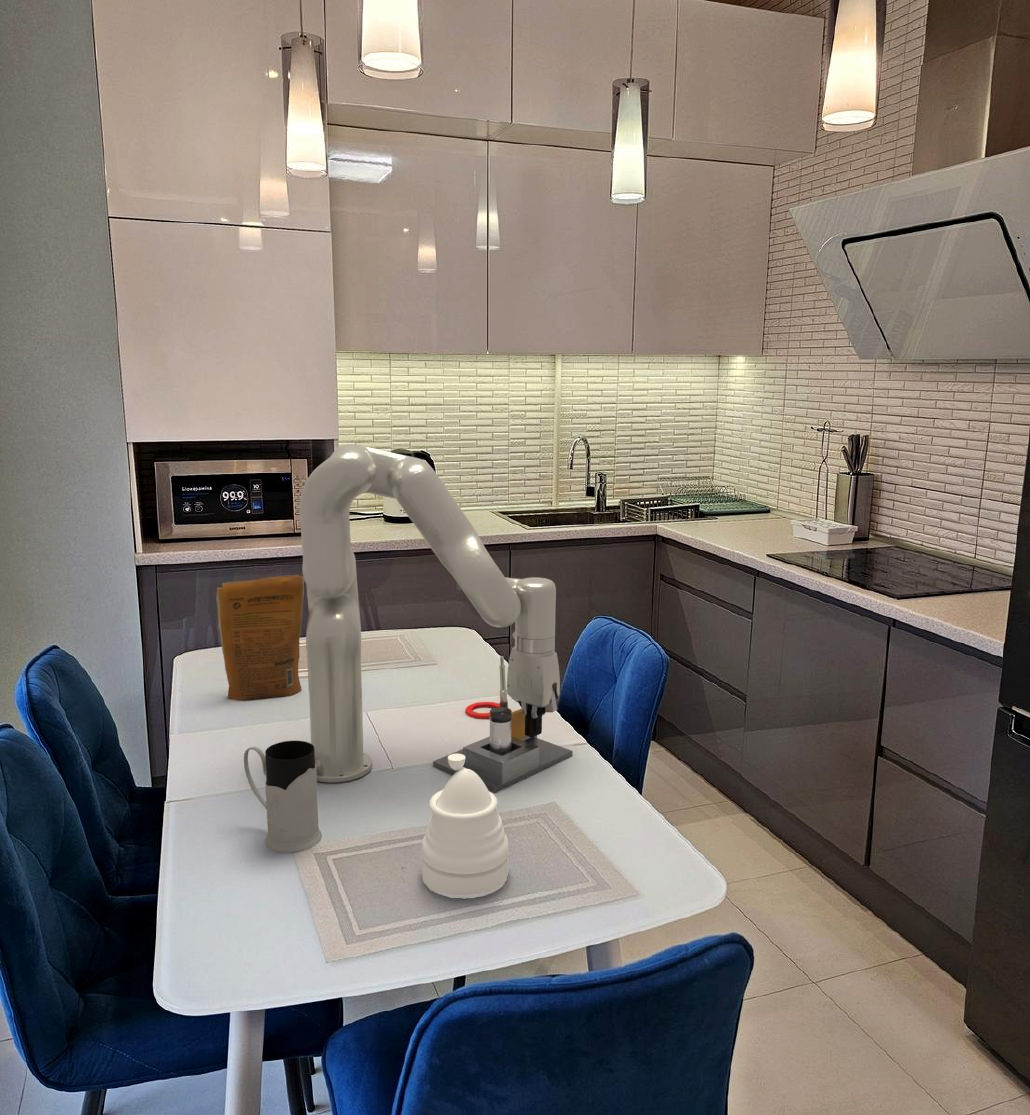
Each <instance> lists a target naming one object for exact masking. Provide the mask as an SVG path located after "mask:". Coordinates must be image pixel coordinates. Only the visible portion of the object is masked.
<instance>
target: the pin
mask: <svg viewBox="0 0 1030 1115" xmlns="http://www.w3.org/2000/svg"><path fill="white" fill-rule="evenodd" d="M489 712H490V718H489V736H490V751H491V752H493V753H496V754H498V755H501V756H503V755H505V754H507V753H510V752H511V726H512V712H513V711H512V709H510V708H509V707H508V708H505V707H497V708H491V709H490V710H489Z"/></svg>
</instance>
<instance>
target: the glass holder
mask: <svg viewBox="0 0 1030 1115" xmlns="http://www.w3.org/2000/svg"><path fill="white" fill-rule="evenodd" d="M250 750H253V751H255V752H256V753H257V754H258V755H259V757H260V759H261V766H262V772H263V775H264V776H265V777H266V781H265V799H266V800H265V799H264V797H263V796H262V794H261V793H260V791H259V790H258V788H257V787H256V785H255V783H254V782H255V781H254V780H253V777H252V775H251V771H250V768H249V752H250ZM264 752H265V753H264ZM264 752H263V751H262V750H261V748H259V747H258V746H250V747H248V748H246V750H245V751H244V753H243V766H244V767H243V768H244V773H245V776H246V779H247V782H248V784H249V787H250V788H251V791H252V792H253V794H254V796H256V798H257V799H258V801H259V802H260V804H262V806H263V807H264V808H265V810H266V819H267V820H266V822H267V823H266V824H267V835H266V837H265V841H264V843H265V845H266V847H267V848H268V849H270V850H272V851H274V852H279V853H284V854H285V853H298V852H303V851H305V850H308V849H311V848H312V847H314V846H316V845H317V844H319V842H320V841H321V839H322V836H323V835H322V832H321V830H320V827H319V806H318V781H317V772H316V768H315V748H314V746H313V745H312V744H311V742H308V741H304V740H285V741H280V742H276V743H273V744H272V745H270V746H268V747H267V748H266V749H265V751H264Z"/></svg>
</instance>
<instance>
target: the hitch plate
mask: <svg viewBox="0 0 1030 1115" xmlns="http://www.w3.org/2000/svg"><path fill="white" fill-rule="evenodd" d="M451 754H462V755H464V756H465V763H464V765H463V767H464V768H466V769H470V770H472V771H474V772H475V773H476V774H477V775H478V776H479V777H480V778H481V780H482V781H483V782H484V784H485V786H486V787H487V789H488V791H489V792H491V793H492V794H496V793H498V792H500V791H501V790H504V789H506V788H508V787H511V786H512V785H514V784H517V783H519V782H521V781H523V780H525V779H526V778H529V777H531V776H533V775H536V774H537V773H540V772H541V771H544V770H546V769H548V768H550V767H551V766H553V765H557V764H558V763H560V762H562V761H564V760H567V759H568V758H570V757H572V756H573V750H571V749H568V748H566V747H563V746H560V745H558V744H554V743H552V742H549V741H546V740H543V739H541V738H538V735H537V736H534V737H532V738H530V739H527V740H525V741H523V740H520V739H517V738H515V737H512V736H511V752H510V753H507V754H505V755H503V756H501V755H498V754H496V753H493V752H491V751H490V735H489V736H487V737H485V738H482V739H480V740H477V741H474V742H472V743H470V744H467V745H466V746H463V747H462V749H459V750H457V751H455V752H452V753H450V754H448V755H444V756H442V757H440V758H438V759H436V760H433V761H432V767H434V768H436V769H438V770H441V771H442V772H445V773H447V774H449V775H452V776H453V775H454V774H455V773H456V772H457V771H459V770H454V769H452V768H451V767H450V765H449V763H448V756H449V755H451Z"/></svg>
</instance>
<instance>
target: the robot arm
mask: <svg viewBox="0 0 1030 1115" xmlns="http://www.w3.org/2000/svg"><path fill="white" fill-rule="evenodd" d="M364 493H366V494H371V495H374V496H379V497H385V498H390V499H395V500H396V501H397V502H398V504H399V505H400V507H401V508H402V509H403V511H404V513H406V515H407V517H408V518H409V519H410V521H411V522H412V523H413V524H414V526H415V528H416V529H417V530H418V531H419V534H421V535H422V537H423V539H424V541H425V542H426V543H427V544H428V546H429V548H430V549H431V550H432V552H433V553H434V554H435V556H436V558H437V559H438V560H439V561H440V563H441V564H442V565H443V566H444V568H446V570H447V571H448V573H449V574H451V576H452V577H453V578H454V580H455V581H456V583H457V585H458V586H459V587H460V589H461V590H462V591H463V593H464V595H465V596H466V597H467V598H468V600H469V601H470V603H471V604H472V605H473V607H474V609H475V610H476V612H477V613H478V614H479V616H480V617H481V618H482V620H484V622H485V623H486V624H488V625H489V626H491V627H494V628H497V629H498V628H499V629H503V628H507V627H510V626H511V625H513V624H514V623H515V625H514V627H515V628H514V629H515V630H514V632H513V633H512V639H514V646H513V647H511V651H510V655H509V660H508V665H507V674H506V675H507V676H506V690H507V696H508V697H510V698H511V699H512V700H513V701H515V702H516V703H518V704H519V706H520V709H522V713H523V715H525V735H526V736H529V737H531V738H532V737H534V736H537V737H538V736H539V735H541V734H542V733H543V732H542V731H543V716H544V715H546V713H554V712H556V711H558V706H557V702H559V699H560V692H561V688H560V687H561V684H560V683H561V681H560V680H561V679H560V667H559V659H558V654H557V652H556V651H555V650H556V646H555V645H556V643H555V642H556V641H555V640H556V607H557V606H556V603H557V602H556V601H557V587H556V584H555V582H554V581H553V580H552V579H549V578H545V577H534V576H533V577H524V578H515V577H514V578H513V577H505V576H504V574H503V573H502V571H501V570H500V568H499V567H498V565H497V564H496V563H495V561H494V560H493V558H492V556H491V555H490V554H489V552H488V550H487V549H486V547H485V545H484V543H483V542H482V539H481V538H480V535H479V533H478V532H477V531H476V529H475V528H474V526H473V524H472V523H471V521H470V520H469V518H468V517H467V516H466V514H465V513H464V512H463V510H462V509H461V507H460V506H459V503H457V502H456V500H455V499H454V497H453V495H452V494H451V493H450V491H449V490H448V488H447V487H446V486H445V483H444V482H443V480H442V479H441V478H440V477H439V475H438V474H437V473H436V471H435V470H434V468H433V467H432V466H431V465H430V464H429V463H428V462H427V461H425V460H424V459H422V458H420V457H419V458H418V457H414V456H409V455H404V454H401V453H400V454H399V453H394V452H391V451H386V450H382V449H378V448H373V447H369V446H367V445H366V446H365V445H360V444H356V443H351V444H349V443H348V444H342V446H339V447H337V448H336V449H335V450H334V451H333V452H332V454H331V455H330V457H328V458H327V459H326V460H324V461H323V462H322V463H320V464H319V465H318V466H317V467H316V468H315V469H314V470H313V471H312V472H311V473H310V475H309V476H308V477H307V479H306V481H305V484H304V486H303V488H302V492H301V495H300V502H299V514H300V515H299V517H300V530H301V531H300V536H301V546H302V547H301V549H302V550H301V551H302V569H301V570H302V577H304V584H305V586H306V598H307V607H308V608H307V609H308V618H307V623H306V624H307V625H306V631H305V645H306V658H307V675H308V676H307V677H308V696H309V697H308V698H309V700H308V701H309V726H310V727H309V729H310V743H311V744H312V745H313V746H314V748H315V768H316V772H317V782H322V783H332V784H333V783H345V782H350V781H354V780H357V779H359V778H362V777H364V776H365V775H367V774H369V772H370V771H371V770H372V767H373V759H372V758H371V756H370V755H368V754H367V753H366V752H364V724H363V721H364V720H363V686H362V628H361V613H360V602H359V589H358V580H357V579H358V576H357V563H356V556H355V553H354V550H353V549H352V542H351V541H352V540H351V525H350V524H351V522H350V509H351V505H352V504H353V501H355V499H357V497H359V496H362V494H364Z"/></svg>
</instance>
